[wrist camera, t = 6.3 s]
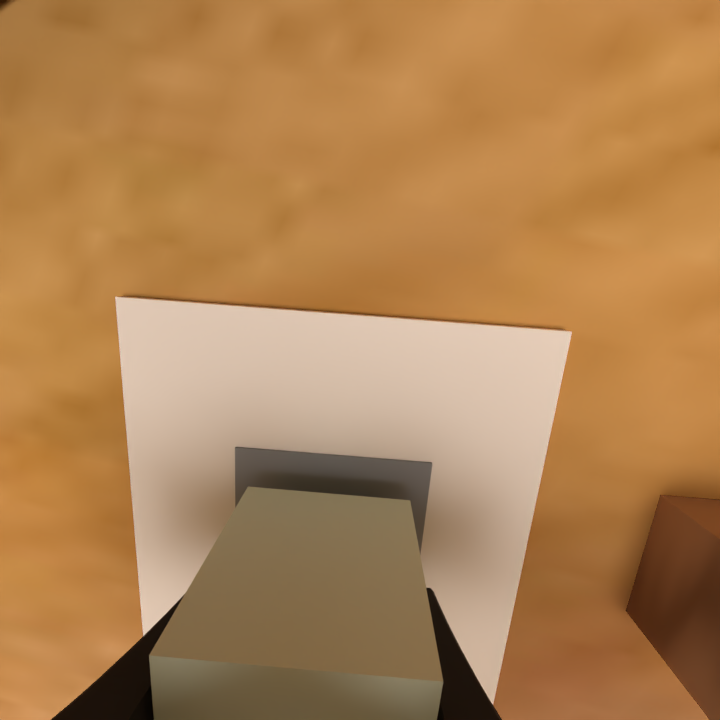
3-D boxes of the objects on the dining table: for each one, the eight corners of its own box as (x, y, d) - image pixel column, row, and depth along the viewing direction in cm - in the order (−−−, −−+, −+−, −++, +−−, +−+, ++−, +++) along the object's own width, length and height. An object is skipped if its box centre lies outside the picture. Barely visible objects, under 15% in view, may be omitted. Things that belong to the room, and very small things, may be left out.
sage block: (393, 630, 12) (410, 872, 7) (247, 617, 12) (163, 849, 7) (409, 500, 11) (443, 681, 6) (248, 486, 11) (149, 655, 6)
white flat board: (486, 709, 15) (490, 724, 14) (153, 681, 15) (146, 694, 14) (564, 329, 11) (573, 332, 11) (124, 296, 11) (112, 297, 11)
